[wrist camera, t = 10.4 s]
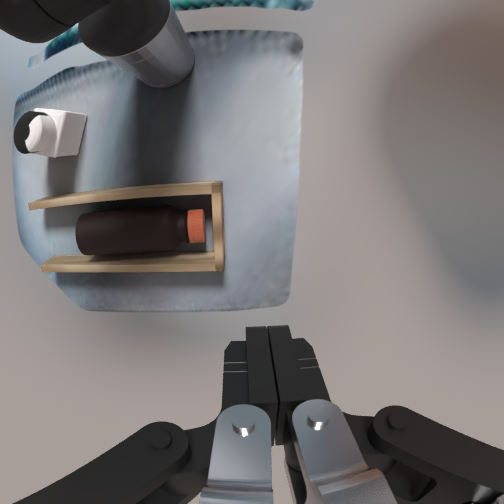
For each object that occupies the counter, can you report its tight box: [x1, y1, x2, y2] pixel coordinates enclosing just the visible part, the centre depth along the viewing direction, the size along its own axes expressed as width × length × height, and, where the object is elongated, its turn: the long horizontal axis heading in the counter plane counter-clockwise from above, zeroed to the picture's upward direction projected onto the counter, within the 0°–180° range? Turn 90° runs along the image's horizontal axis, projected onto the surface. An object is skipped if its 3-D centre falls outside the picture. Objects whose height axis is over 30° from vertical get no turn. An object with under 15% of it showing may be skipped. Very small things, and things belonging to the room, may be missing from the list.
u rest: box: [28, 181, 225, 272], centre depth 41 cm, size 12×33×5 cm, turn 91°
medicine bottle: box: [14, 108, 87, 158], centre depth 32 cm, size 7×7×12 cm
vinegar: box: [76, 205, 206, 256], centre depth 41 cm, size 7×7×20 cm
